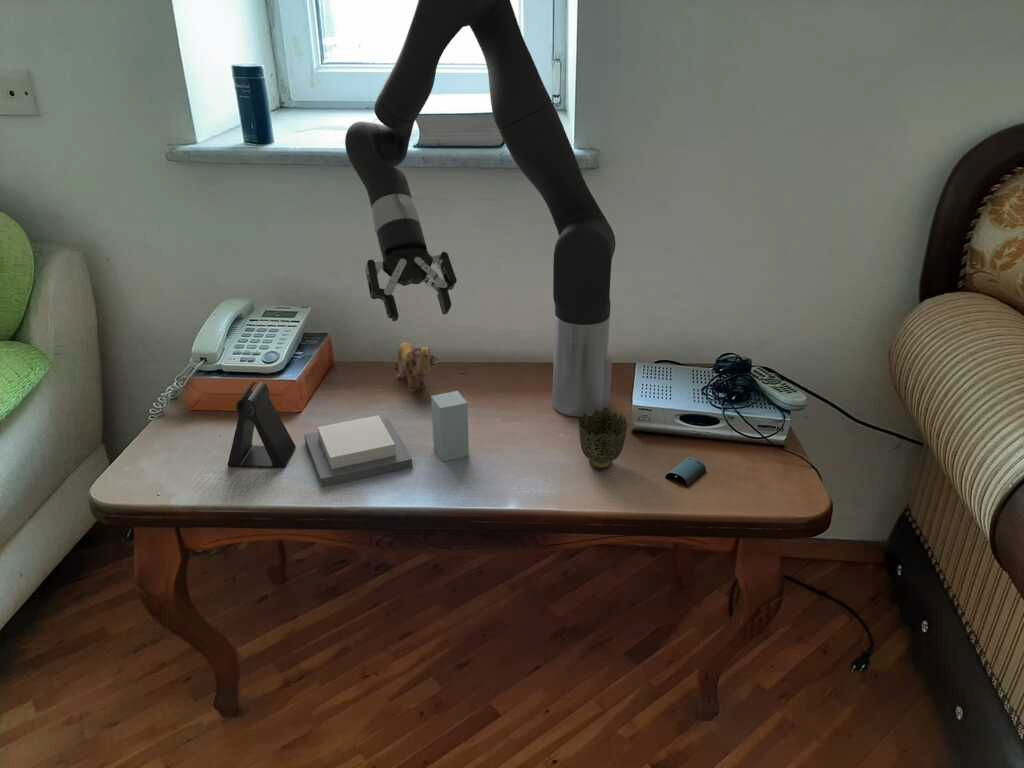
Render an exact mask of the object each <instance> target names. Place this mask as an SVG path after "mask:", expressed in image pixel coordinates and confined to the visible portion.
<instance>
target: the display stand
mask: <svg viewBox="0 0 1024 768" xmlns="http://www.w3.org/2000/svg"><path fill="white" fill-rule="evenodd" d="M303 436H304V443H305V446H306V447H307V451H308V453H309V454H308V455H310V456H309V457H310V458H311V462H312V465H313V467H314V470H315V473H316V475H317V478H318V481H319V483H320V486H321V488H323V487H328V486H329V487H330V486H333V485H338V484H342V483H347V482H352V481H356V480H361V479H365V478H371V477H374V476H378V475H382V474H388V473H392V472H396V471H397V472H398V471H403V470H406V469H411V468H413V466H414V465H413V458H412V456H411V454H410V453H409V451H408V449H407V448H406V446H405V445H404V443H403V441H402V439H401V437H400V436H399V435H398V433H397V431H396V429H395V427H394V425H393V424H392V423H391V421H390V418H388V417H387V418H386V417H385V418H383V419H381V416H380V415H379V414H377V415H373V416H368V417H363V418H357V419H352V420H347V421H342V422H337V423H331V424H327V425H322V426H317V431H315V432H310V433H304V434H303Z"/></svg>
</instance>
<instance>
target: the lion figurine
mask: <svg viewBox="0 0 1024 768" xmlns="http://www.w3.org/2000/svg"><path fill="white" fill-rule="evenodd" d="M396 355H397V357H396V358H397V362H396V363H395V364H394V366H395V367H397V375H396V379H398V380H400V379H403V377H404V376H403V375H404V374H403V367H404V369H405V371H406V377H407V383H408V384H407V385H408V389H407V391H408V392H409V393H410V392H411V393H414V392H415V391H416V389H415V387H416V386H415V384H414V378H416V379H419V380H418V385H419V387H420V388H422V389H424V388H423V387H425V388H427V386H428V385H427V383H425V376H427V374H428V373H430V372H431V367H433V368H436V367H437V364H438V362H439V360H440V358H439V357H438V356H436V355H434V354H433V353H432V352H430V348H429V347H427V346H420V347H417V348H414V346H413V344H411V343H409V342H405V341H404V342H403V343H400V345H399V346H398V349H397V354H396ZM413 391H414V392H413Z"/></svg>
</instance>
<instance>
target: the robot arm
mask: <svg viewBox="0 0 1024 768" xmlns="http://www.w3.org/2000/svg"><path fill="white" fill-rule="evenodd" d="M466 27H470V29H471V32H472V33H473V35H474V37H475V40H476V41H477V43H478V46H479V48H480V50H481V52H482V55H483V57H484V60H485V64H486V68H487V75H488V83H489V84H488V85H489V95H490V97H489V98H490V104H491V106H490V107H491V113H492V115H493V119H494V122H495V125H496V127H497V130H498V131H499V134H500V136H501V138H502V140H503V142H504V144H505V147H506V148H507V150H508V152H509V154H510V156H511V157H512V160H513V161H514V163H516V164H515V165H517V166H518V168H519V169H520V170H521V172H522V173H523V175H524V176H525V177H526V178H527V179H528V180H529V181H530V183H531V184H532V185H533V187H534V188H535V189H536V190H537V192H539V194H540V196H541V197H542V198H543V201H544V203H545V204H546V206H547V208H548V210H549V214H550V215H551V217H552V220H553V222H554V223H553V224H554V225H555V227H556V230H557V231H556V232H557V233H558V238H557V239H556V242H555V245H554V252H553V263H552V264H553V265H552V266H553V268H552V269H553V271H552V273H553V274H552V275H553V276H552V277H553V280H552V282H553V285H552V286H553V287H552V289H553V290H552V296H553V303H554V332H553V333H554V336H553V338H554V339H553V340H554V341H553V343H554V344H553V373H552V374H553V375H552V378H553V379H552V395H551V396H552V407H553V408H554V409H555V411H557V412H559V413H561V414H562V415H566V416H569V417H574V418H575V417H577V418H579V417H580V416H581V417H583V414H584V413H586V414H587V417H588V416H589V415H590V416H592V415H593V413H594V410H598V411H599V412H601V411H603V410H605V409H607V408H610V397H611V395H610V394H611V384H612V383H611V381H612V380H611V379H612V363H613V359H612V357H611V356H610V355H608V352H609V351H608V350H609V349H608V348H609V337H610V336H609V335H610V321H611V319H610V317H611V299H610V297H611V296H610V294H611V293H610V291H611V276H612V273H611V272H612V263H613V257H614V256H615V255H614V254H615V250H616V236H615V234H614V231H613V228H612V227H611V225H610V223H609V221H608V220H607V217H606V216H605V215H604V213H603V212H602V209H601V207H600V206H599V205H598V203H597V201H596V200H595V199H596V198H595V197H594V196H593V194H592V193H591V190H590V189H589V186H588V185H587V183H586V181H585V178H584V177H583V176H584V175H583V174H582V171H581V169H580V168H581V167H580V165H579V163H578V160H577V158H576V155H575V151H574V150H573V148H572V147H573V146H572V144H571V142H570V139H569V137H568V135H567V131H566V130H565V127H564V125H563V123H562V121H561V118H560V116H559V113H558V111H557V109H556V107H555V105H554V103H553V100H552V99H551V96H550V94H549V92H548V91H547V88H546V87H545V84H544V82H543V80H542V78H541V75H540V73H539V70H538V68H537V65H536V63H535V61H534V59H533V56H532V55H531V52H530V51H529V48H528V46H527V43H526V41H525V38H524V37H523V34H522V32H521V28H520V26H519V22H518V20H517V17H516V14H515V11H514V8H513V4H512V2H511V0H418V1H417V4H416V7H415V11H414V13H413V17H412V20H411V23H410V25H409V29H408V30H407V34H406V37H405V39H404V42H403V46H402V48H401V50H400V52H399V55H398V57H397V60H396V61H395V64H394V66H393V68H392V70H391V71H390V73H389V76H388V77H387V79H386V81H385V82H384V85H383V87H382V89H381V90H380V93H379V94H378V96H377V98H376V101H375V103H374V111H373V112H374V114H375V117H376V118H377V119H378V121H379V122H381V124H380V123H375V122H369V121H362V120H361V121H355V122H353V123H352V124H350V126H349V127H348V129H347V132H346V134H345V139H344V146H345V151H346V154H347V157H348V160H349V162H350V163H351V165H352V167H353V169H354V171H355V172H356V173H357V175H358V177H359V179H360V180H361V183H362V184H363V186H364V187H365V189H366V192H367V195H368V199H369V204H370V207H371V212H372V220H373V226H374V232H375V233H376V234H375V235H376V237H377V241H378V246H379V250H380V253H381V257H382V261H376V262H375V260H374V259H367V260H368V261H367V263H366V266H365V273H366V274H365V275H366V280H367V285H368V286H367V287H368V291H369V295H370V299H372V300H377V299H378V300H381V301H382V302H383V305H384V309H385V313H386V316H387V318H388V319H391V321H392V322H397V321H398V320H399V312H398V308H397V304H396V299H395V295H394V294H393V293H394V291H395V289H396V288H397V285H401V286H402V287H406V286H409V285H420V284H421V283H423V284H424V285H425V286H427V287H429V288H431V289H433V290H434V291H435V292H436V293H437V300H438V303H439V307H440V311H441V315H448V313H449V311H450V309H451V307H452V301H451V297H450V293H449V291H450V290H453V289H454V288H455V285H456V283H457V277H456V273H455V271H454V268H453V265H452V262H451V259H450V257H449V254H448V253H447V251H442V252H441V253H440V254H438V255H431V254H430V253H429V251H428V247H427V243H426V240H425V237H424V233H423V227H422V225H421V220H420V218H419V214H418V211H417V208H416V206H415V203H414V201H413V198H412V194H411V191H410V186H409V184H408V180H407V177H406V175H405V173H404V172H403V171H402V170H400V169H398V168H396V167H397V166H399V165H400V164H402V163H403V162H404V161H405V159H406V157H407V154H408V150H409V146H410V145H409V144H410V140H411V136H412V132H413V128H414V124H415V122H416V120H417V118H418V117H419V115H420V113H421V111H422V110H423V108H424V106H425V104H426V103H427V101H428V99H429V98H430V95H431V93H432V90H433V87H434V83H435V80H436V74H437V68H438V64H439V62H440V59H441V58H442V57H441V56H443V54H444V51H445V50H446V48H447V47H448V45H449V44H450V43H451V41H452V40H453V39H454V38H455V37H456V35H457V34H458V33H459V32H460V31H461V30H462V29H463V28H466ZM432 265H435V266H436V268H437V269H440V272H441V274H442V277H443V278H442V277H440V276H439V274H438V272H437V271H435V269H433V268H432ZM381 271H383V272H384V273H385V274H387V276H389V277H390V278H389V280H388V282H387V284H386V286H385V287H384V288H381V287H380V283H379V277H378V276H379V275H380V273H381Z"/></svg>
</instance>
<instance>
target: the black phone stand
mask: <svg viewBox="0 0 1024 768" xmlns="http://www.w3.org/2000/svg"><path fill="white" fill-rule="evenodd" d="M255 385H256V381H252V382H251V383H250V385H249V386H248V387H247V389H246V390H245V391H244V393H243V394H242V395H241V397H240V399H238V401H237V402H236V405H235V406H236V407H235V408H236V411H237V418H238V419H237V423H236V427H235V430H234V435H233V439H232V443H231V444H232V445H231V448H230V453H229V457H228V462H227V467H228V468H241V469H243V468H244V469H245V468H246V469H247V468H248V469H249V468H250V469H251V468H252V469H255V468H258V469H285V468H286V467H287V464H288V463H289V460H290V459H291V457H292V455H293V453H294V452H295V449H296V444H295V442H294V440H293V439H292V437H291V435H290V433H289V431H288V430H287V428H286V426H285V424H284V422H283V421H282V419H281V417H280V415H279V413H278V411H277V410H276V408H275V406H274V404H273V403H272V401H271V398H270V390H269V389H270V388H269V386H268V385H267V383H265V382H263V381H260V382H259V384H258V385H257V386H256V388H255V389H254V390H253V391H252V389H253V387H255ZM255 429H256V432H257V434H258V436H259V438H260V440H261V442H262V444H263V445H253V437H254V430H255Z"/></svg>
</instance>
